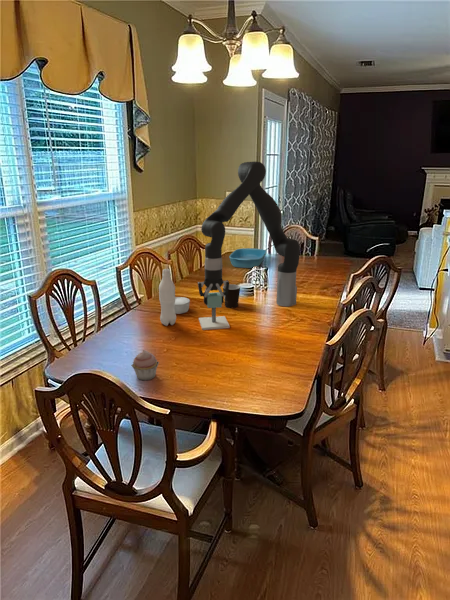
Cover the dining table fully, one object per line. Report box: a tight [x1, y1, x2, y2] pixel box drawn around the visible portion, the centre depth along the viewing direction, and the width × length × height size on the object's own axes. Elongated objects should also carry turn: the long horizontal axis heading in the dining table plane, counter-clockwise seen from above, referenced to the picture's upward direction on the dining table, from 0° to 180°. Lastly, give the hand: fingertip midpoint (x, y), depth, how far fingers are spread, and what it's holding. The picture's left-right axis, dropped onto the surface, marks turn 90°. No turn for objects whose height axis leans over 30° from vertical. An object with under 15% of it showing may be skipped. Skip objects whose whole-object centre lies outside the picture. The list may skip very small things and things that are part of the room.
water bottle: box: [158, 268, 177, 327], centre depth 196 cm, size 7×7×25 cm
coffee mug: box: [222, 283, 241, 309], centre depth 222 cm, size 12×9×10 cm
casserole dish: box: [229, 247, 267, 269], centre depth 303 cm, size 37×22×7 cm, turn 167°
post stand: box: [198, 308, 231, 331], centre depth 199 cm, size 12×12×9 cm
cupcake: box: [131, 349, 160, 381], centre depth 153 cm, size 9×9×10 cm
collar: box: [206, 291, 223, 309], centre depth 196 cm, size 6×6×5 cm
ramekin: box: [174, 296, 191, 315], centre depth 215 cm, size 11×11×5 cm
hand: (213, 304), depth 197 cm, fingers closed on collar, 6 cm apart
